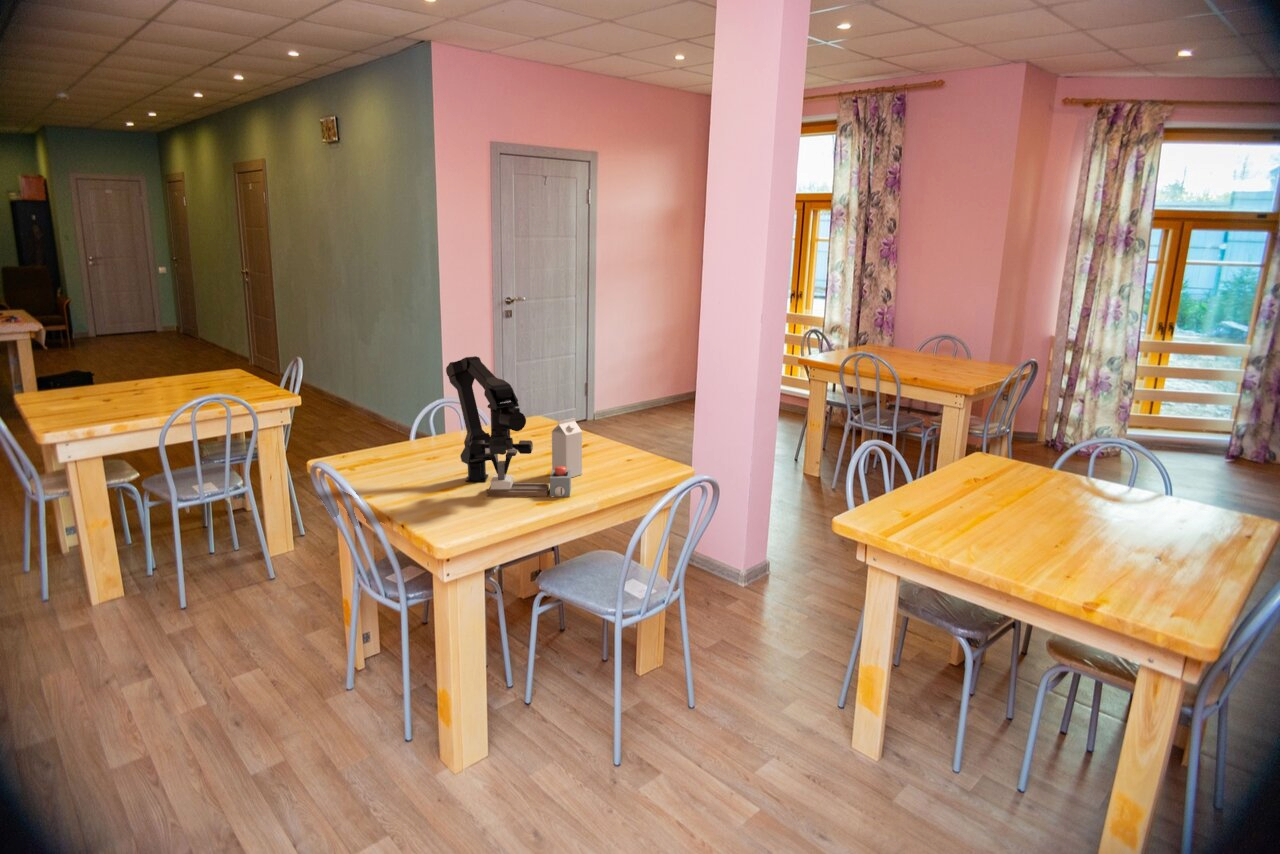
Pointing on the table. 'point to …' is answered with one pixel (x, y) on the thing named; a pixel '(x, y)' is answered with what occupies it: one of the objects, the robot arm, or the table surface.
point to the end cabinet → (560, 484)
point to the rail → (520, 490)
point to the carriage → (501, 478)
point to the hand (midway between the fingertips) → (501, 473)
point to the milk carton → (567, 446)
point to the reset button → (560, 470)
